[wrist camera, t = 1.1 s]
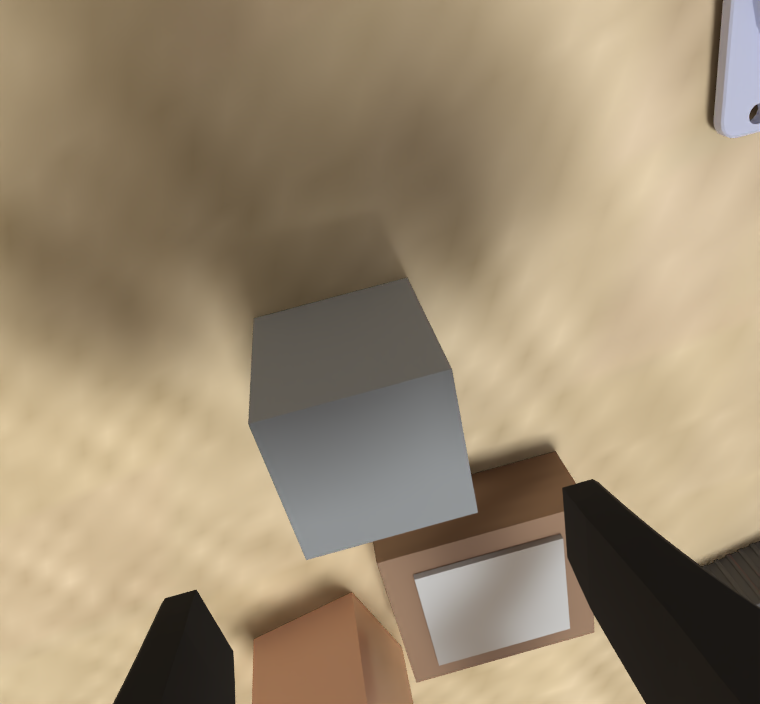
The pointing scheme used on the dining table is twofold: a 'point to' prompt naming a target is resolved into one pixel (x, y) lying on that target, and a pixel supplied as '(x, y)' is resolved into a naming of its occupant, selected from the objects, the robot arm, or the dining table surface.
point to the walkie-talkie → (740, 571)
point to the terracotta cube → (330, 659)
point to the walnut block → (488, 574)
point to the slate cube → (358, 419)
